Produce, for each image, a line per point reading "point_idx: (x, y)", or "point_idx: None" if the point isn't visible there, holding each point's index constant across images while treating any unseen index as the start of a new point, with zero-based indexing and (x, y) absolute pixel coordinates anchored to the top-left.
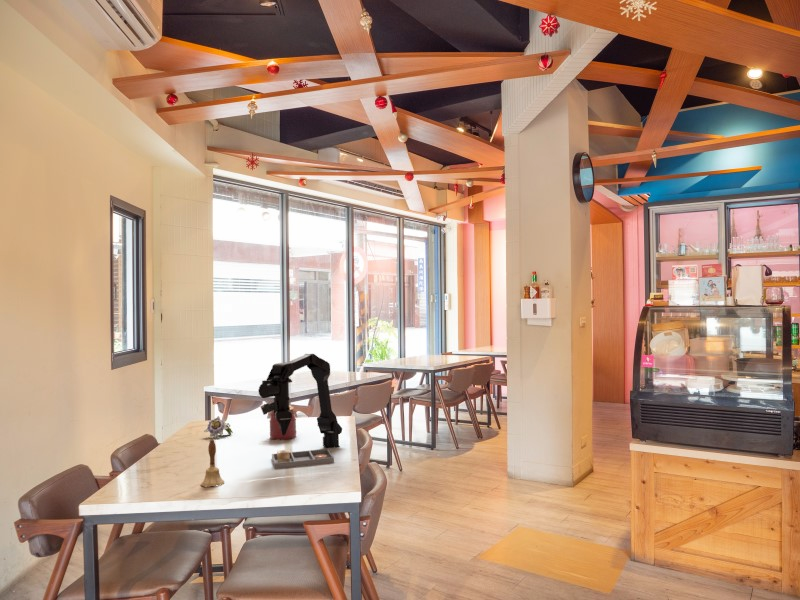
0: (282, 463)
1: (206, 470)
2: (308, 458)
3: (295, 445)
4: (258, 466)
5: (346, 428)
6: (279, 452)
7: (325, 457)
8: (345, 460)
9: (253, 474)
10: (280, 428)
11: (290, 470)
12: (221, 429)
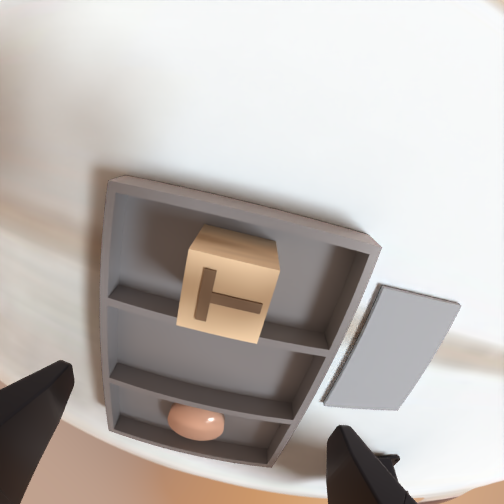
0: (105, 228)
1: None
2: (237, 387)
3: (492, 385)
4: (271, 109)
5: (480, 482)
6: (207, 265)
7: (173, 426)
8: (148, 448)
9: (109, 50)
10: (344, 447)
11: (80, 246)
12: None
